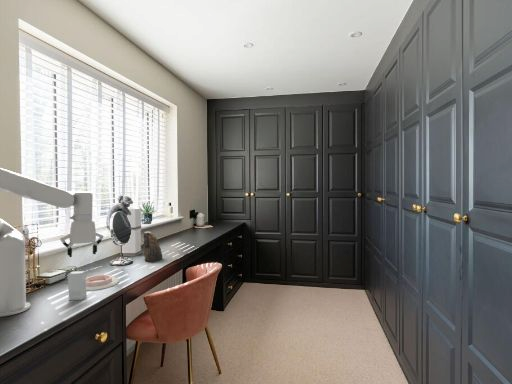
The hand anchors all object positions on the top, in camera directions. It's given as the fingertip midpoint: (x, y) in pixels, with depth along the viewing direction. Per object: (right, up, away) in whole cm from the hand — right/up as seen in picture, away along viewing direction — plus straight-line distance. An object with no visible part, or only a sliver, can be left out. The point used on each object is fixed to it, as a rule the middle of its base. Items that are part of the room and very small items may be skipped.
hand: (82, 255), depth 138 cm
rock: (+8, -19, +71) cm, 74 cm away
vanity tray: (-3, -19, +19) cm, 27 cm away
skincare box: (-1, -20, -2) cm, 20 cm away
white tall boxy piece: (-15, -18, +89) cm, 92 cm away
